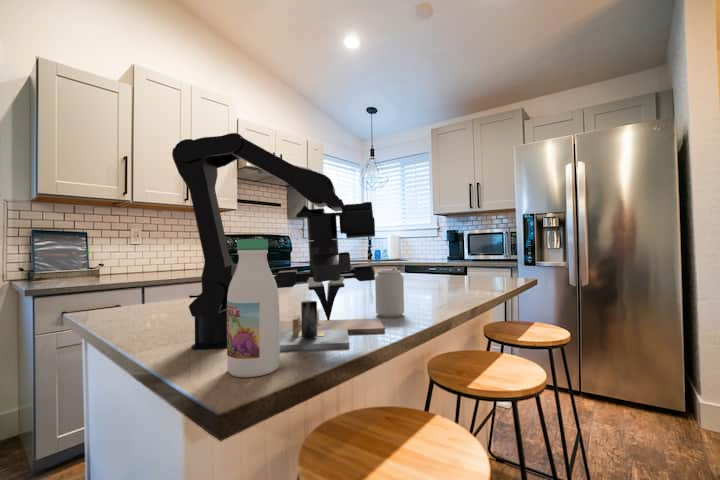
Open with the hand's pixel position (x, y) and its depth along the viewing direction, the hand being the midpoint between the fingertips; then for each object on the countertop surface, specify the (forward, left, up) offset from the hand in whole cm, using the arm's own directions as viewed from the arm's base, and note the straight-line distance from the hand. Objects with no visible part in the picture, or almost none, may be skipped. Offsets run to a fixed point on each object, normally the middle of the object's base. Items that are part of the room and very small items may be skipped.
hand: (328, 319), depth 67 cm
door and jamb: (0, +5, -4) cm, 7 cm away
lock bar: (-4, +6, -3) cm, 7 cm away
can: (+16, +23, -5) cm, 29 cm away
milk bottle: (-11, -14, -5) cm, 18 cm away
